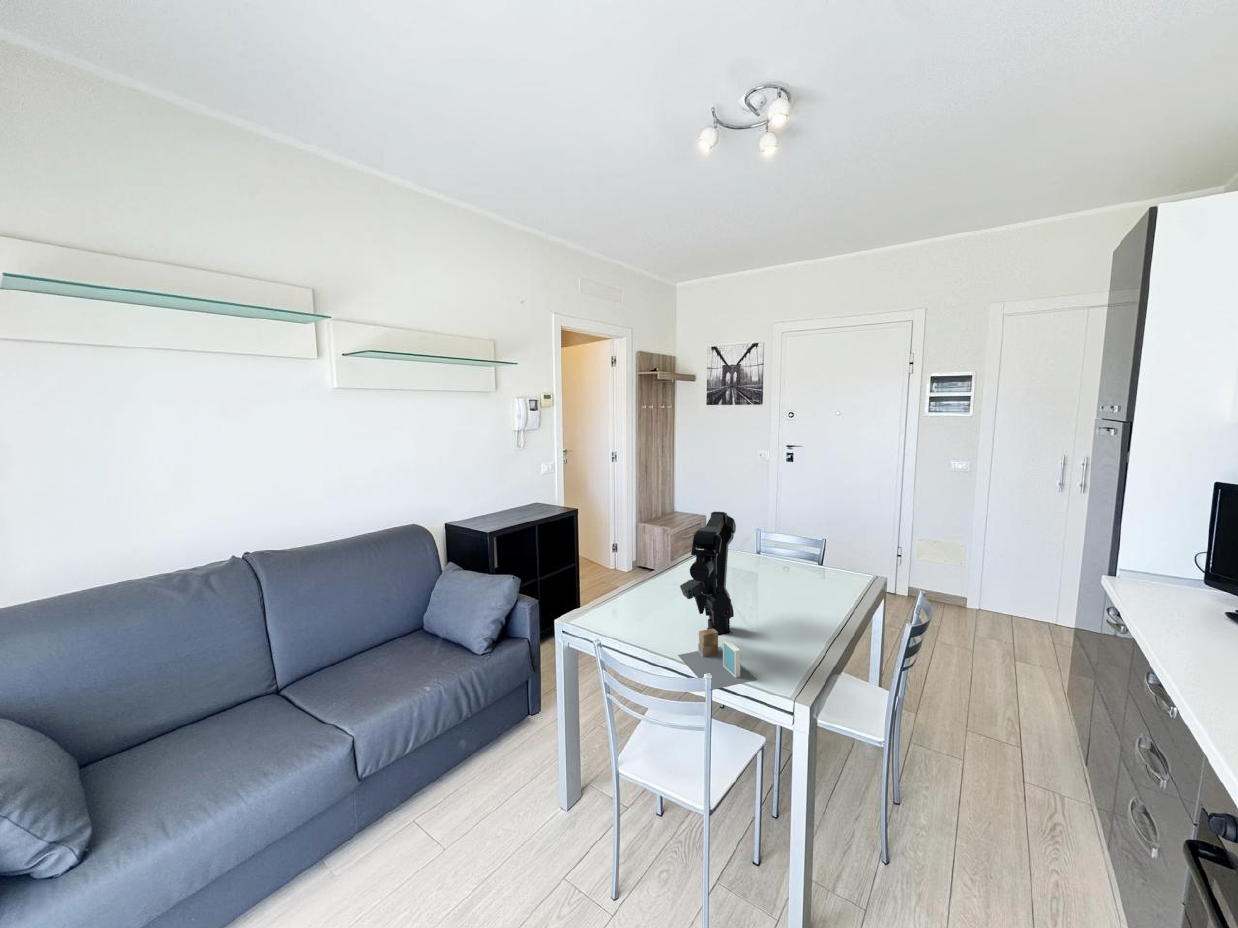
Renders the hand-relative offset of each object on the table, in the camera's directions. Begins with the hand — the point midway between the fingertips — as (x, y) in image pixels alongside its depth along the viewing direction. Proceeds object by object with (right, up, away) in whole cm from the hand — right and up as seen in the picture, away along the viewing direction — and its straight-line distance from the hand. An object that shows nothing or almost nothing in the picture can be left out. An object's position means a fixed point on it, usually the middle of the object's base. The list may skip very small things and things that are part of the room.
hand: (708, 619), depth 155 cm
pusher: (0, -11, +1) cm, 11 cm away
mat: (+1, -12, -7) cm, 14 cm away
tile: (+5, -12, -10) cm, 16 cm away
